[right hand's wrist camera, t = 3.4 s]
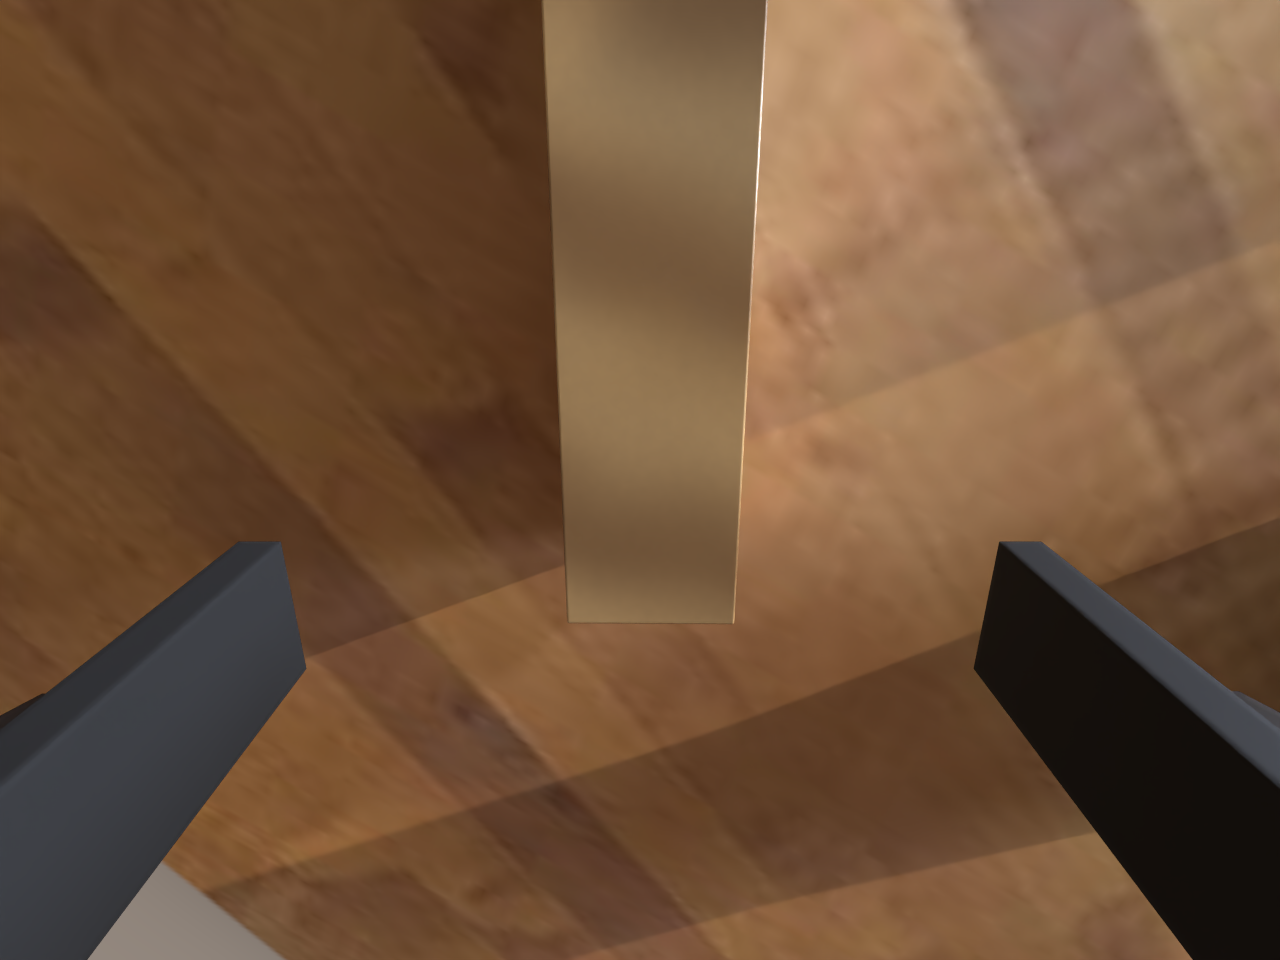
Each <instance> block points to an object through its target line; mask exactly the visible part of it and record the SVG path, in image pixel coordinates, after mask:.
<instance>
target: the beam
mask: <svg viewBox="0 0 1280 960" xmlns="http://www.w3.org/2000/svg"><path fill="white" fill-rule="evenodd" d="M541 8H542V32H543V56H544V80H545V104H546V128H547V152H548V176H549V200H550V223H551V247H552V271H553V295H554V319H555V343H556V367H557V391H558V415H559V439H560V462H561V486H562V510H563V534H564V558H565V582H566V606H567V622H568V623H639V624H733V623H734V616H735V598H736V579H737V561H738V542H739V524H740V506H741V487H742V469H743V450H744V432H745V414H746V395H747V377H748V358H749V340H750V321H751V303H752V285H753V266H754V248H755V229H756V211H757V192H758V174H759V156H760V137H761V119H762V100H763V82H764V63H765V45H766V27H767V8H768V0H541Z"/></svg>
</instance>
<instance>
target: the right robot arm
mask: <svg viewBox="0 0 1280 960" xmlns="http://www.w3.org/2000/svg"><path fill="white" fill-rule="evenodd" d="M305 670H306V665H305V660H304V655H303V650H302V645H301V640H300V635H299V630H298V625H297V620H296V615H295V610H294V605H293V600H292V595H291V590H290V585H289V580H288V575H287V571H286V566H285V561H284V556H283V551H282V546H281V542H238V543H236V544H235V545H234V546H233V547H231V548H230V549H229V550H228V551H226V552H225V553H224V554H222V555H221V556H220V557H219V558H217V559H216V560H215V561H214V562H212V563H211V564H210V565H208V566H207V567H206V568H205V569H203V570H202V571H201V572H200V573H198V574H197V575H196V576H195V577H193V578H192V579H191V580H189V581H188V582H187V583H186V584H184V585H183V586H182V587H181V588H179V589H178V590H177V591H175V592H174V593H173V594H172V595H170V596H169V597H168V598H167V599H165V600H164V601H163V602H162V603H160V604H159V605H158V606H156V607H155V608H154V609H153V610H151V611H150V612H149V613H148V614H146V615H145V616H144V617H142V618H141V619H140V620H139V621H137V622H136V623H135V624H134V625H132V626H131V627H130V628H129V629H127V630H126V631H125V632H123V633H122V634H121V635H120V636H118V637H117V638H116V639H115V640H113V641H112V642H111V643H109V644H108V645H107V646H106V647H104V648H103V649H102V650H101V651H99V652H98V653H97V654H96V655H94V656H93V657H92V658H90V659H89V660H88V661H87V662H85V663H84V664H83V665H82V666H80V667H79V668H78V669H76V670H75V671H74V672H73V673H71V674H70V675H69V676H68V677H66V678H65V679H64V680H63V681H61V682H60V683H59V684H57V685H56V686H55V687H54V688H52V689H51V690H50V691H49V692H47V693H46V694H41V695H39V696H37V697H35V698H33V699H31V700H29V701H27V702H25V703H23V704H22V705H20V706H18V707H16V708H14V709H12V710H10V711H8V712H6V713H4V714H3V715H1V716H0V960H87V959H88V958H89V957H90V955H91V954H92V953H93V951H94V950H95V949H96V947H97V946H98V945H99V943H100V942H101V941H102V939H103V938H104V937H105V935H106V934H107V933H108V931H109V930H110V929H111V927H112V926H113V925H114V923H115V922H116V921H117V919H118V918H119V917H120V915H121V914H122V913H123V911H124V910H125V909H126V907H127V906H128V905H129V904H130V902H131V901H132V899H133V898H134V897H135V896H136V894H137V893H138V892H139V890H140V889H141V888H142V886H143V885H144V884H145V882H146V881H147V880H148V878H149V877H150V876H151V874H152V873H153V872H154V870H155V869H156V868H157V866H158V865H159V864H160V862H161V861H162V860H163V858H164V857H165V856H166V854H167V853H168V852H169V850H170V849H171V848H172V846H173V845H174V844H175V842H176V841H177V840H178V838H179V837H180V836H181V834H182V833H183V832H184V830H185V829H186V828H187V826H188V825H189V824H190V822H191V821H192V820H193V819H194V817H195V816H196V815H197V813H198V812H199V811H200V809H201V808H202V807H203V805H204V804H205V803H206V801H207V800H208V799H209V797H210V796H211V795H212V793H213V792H214V791H215V789H216V788H217V787H218V785H219V784H220V783H221V781H222V780H223V779H224V777H225V776H226V775H227V773H228V772H229V771H230V769H231V768H232V767H233V765H234V764H235V763H236V761H237V760H238V759H239V757H240V756H241V755H242V753H243V752H244V751H245V749H246V748H247V747H248V745H249V744H250V743H251V741H252V740H253V739H254V737H255V736H256V735H257V734H258V732H259V731H260V730H261V728H262V727H263V726H264V724H265V723H266V722H267V720H268V719H269V718H270V716H271V715H272V714H273V712H274V711H275V710H276V708H277V707H278V706H279V704H280V703H281V702H282V700H283V699H284V698H285V696H286V695H287V694H288V692H289V691H290V690H291V688H292V687H293V686H294V684H295V683H296V682H297V680H298V679H299V678H300V676H301V675H302V674H303V672H304V671H305ZM974 670H975V671H976V672H977V674H978V675H979V676H980V678H981V679H982V680H983V682H984V683H985V684H986V686H987V687H988V688H989V690H990V691H991V692H992V694H993V695H994V696H995V698H996V699H997V700H998V702H999V703H1000V704H1001V706H1002V707H1003V708H1004V710H1005V711H1006V712H1007V714H1008V715H1009V716H1010V718H1011V719H1012V720H1013V722H1014V723H1015V724H1016V726H1017V727H1018V728H1019V730H1020V731H1021V732H1022V734H1023V735H1024V736H1025V737H1026V739H1027V740H1028V741H1029V743H1030V744H1031V745H1032V747H1033V748H1034V749H1035V751H1036V752H1037V753H1038V755H1039V756H1040V757H1041V759H1042V760H1043V761H1044V763H1045V764H1046V765H1047V767H1048V768H1049V769H1050V771H1051V772H1052V773H1053V775H1054V776H1055V777H1056V779H1057V780H1058V781H1059V783H1060V784H1061V785H1062V787H1063V788H1064V789H1065V791H1066V792H1067V793H1068V795H1069V796H1070V797H1071V799H1072V800H1073V801H1074V803H1075V804H1076V805H1077V807H1078V808H1079V809H1080V811H1081V812H1082V813H1083V815H1084V816H1085V817H1086V819H1087V820H1088V821H1089V822H1090V824H1091V825H1092V826H1093V828H1094V829H1095V830H1096V832H1097V833H1098V834H1099V836H1100V837H1101V838H1102V840H1103V841H1104V842H1105V844H1106V845H1107V846H1108V848H1109V849H1110V850H1111V852H1112V853H1113V854H1114V856H1115V857H1116V858H1117V860H1118V861H1119V862H1120V864H1121V865H1122V866H1123V868H1124V869H1125V870H1126V872H1127V873H1128V874H1129V876H1130V877H1131V878H1132V880H1133V881H1134V882H1135V884H1136V885H1137V886H1138V888H1139V889H1140V890H1141V892H1142V893H1143V894H1144V896H1145V897H1146V898H1147V900H1148V901H1149V902H1150V904H1151V905H1152V906H1153V907H1154V909H1155V910H1156V911H1157V913H1158V914H1159V915H1160V917H1161V918H1162V919H1163V921H1164V922H1165V923H1166V925H1167V926H1168V927H1169V929H1170V930H1171V931H1172V933H1173V934H1174V935H1175V937H1176V938H1177V939H1178V941H1179V942H1180V943H1181V945H1182V946H1183V947H1184V949H1185V950H1186V951H1187V953H1188V954H1189V955H1190V957H1191V958H1192V959H1193V960H1280V713H1279V712H1277V711H1276V710H1274V709H1272V708H1270V707H1268V706H1266V705H1264V704H1262V703H1260V702H1258V701H1256V700H1255V699H1253V698H1251V697H1249V696H1247V695H1245V694H1243V693H1241V692H1239V691H1230V690H1229V689H1228V688H1226V687H1225V686H1224V685H1223V684H1221V683H1220V682H1219V681H1217V680H1216V679H1215V678H1214V677H1212V676H1211V675H1210V674H1209V673H1207V672H1206V671H1205V670H1204V669H1202V668H1201V667H1200V666H1198V665H1197V664H1196V663H1195V662H1193V661H1192V660H1191V659H1190V658H1188V657H1187V656H1186V655H1184V654H1183V653H1182V652H1181V651H1179V650H1178V649H1177V648H1176V647H1174V646H1173V645H1172V644H1171V643H1169V642H1168V641H1167V640H1165V639H1164V638H1163V637H1162V636H1160V635H1159V634H1158V633H1157V632H1155V631H1154V630H1153V629H1151V628H1150V627H1149V626H1148V625H1146V624H1145V623H1144V622H1143V621H1141V620H1140V619H1139V618H1138V617H1136V616H1135V615H1134V614H1132V613H1131V612H1130V611H1129V610H1127V609H1126V608H1125V607H1124V606H1122V605H1121V604H1120V603H1118V602H1117V601H1116V600H1115V599H1113V598H1112V597H1111V596H1110V595H1108V594H1107V593H1106V592H1105V591H1103V590H1102V589H1101V588H1099V587H1098V586H1097V585H1096V584H1094V583H1093V582H1092V581H1091V580H1089V579H1088V578H1087V577H1085V576H1084V575H1083V574H1082V573H1080V572H1079V571H1078V570H1077V569H1075V568H1074V567H1073V566H1072V565H1070V564H1069V563H1068V562H1066V561H1065V560H1064V559H1063V558H1061V557H1060V556H1059V555H1058V554H1056V553H1055V552H1054V551H1052V550H1051V549H1050V548H1049V547H1047V546H1046V545H1045V544H1044V543H1042V542H999V546H998V551H997V556H996V561H995V566H994V571H993V575H992V580H991V585H990V590H989V595H988V600H987V605H986V610H985V615H984V620H983V625H982V630H981V635H980V640H979V645H978V650H977V655H976V660H975V665H974Z"/></svg>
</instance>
